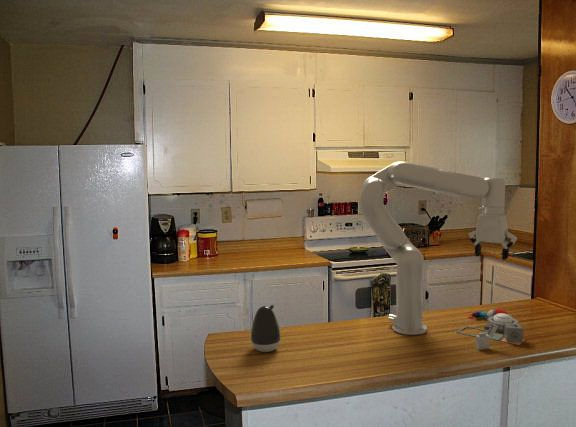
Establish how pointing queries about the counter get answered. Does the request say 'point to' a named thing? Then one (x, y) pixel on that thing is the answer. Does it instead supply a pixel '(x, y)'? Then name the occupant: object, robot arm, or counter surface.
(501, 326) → the dome base
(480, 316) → the toy figure
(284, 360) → the counter surface
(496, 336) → the sorting mat
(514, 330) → the dice cube
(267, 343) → the pump dispenser
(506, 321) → the dome
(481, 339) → the lighter
